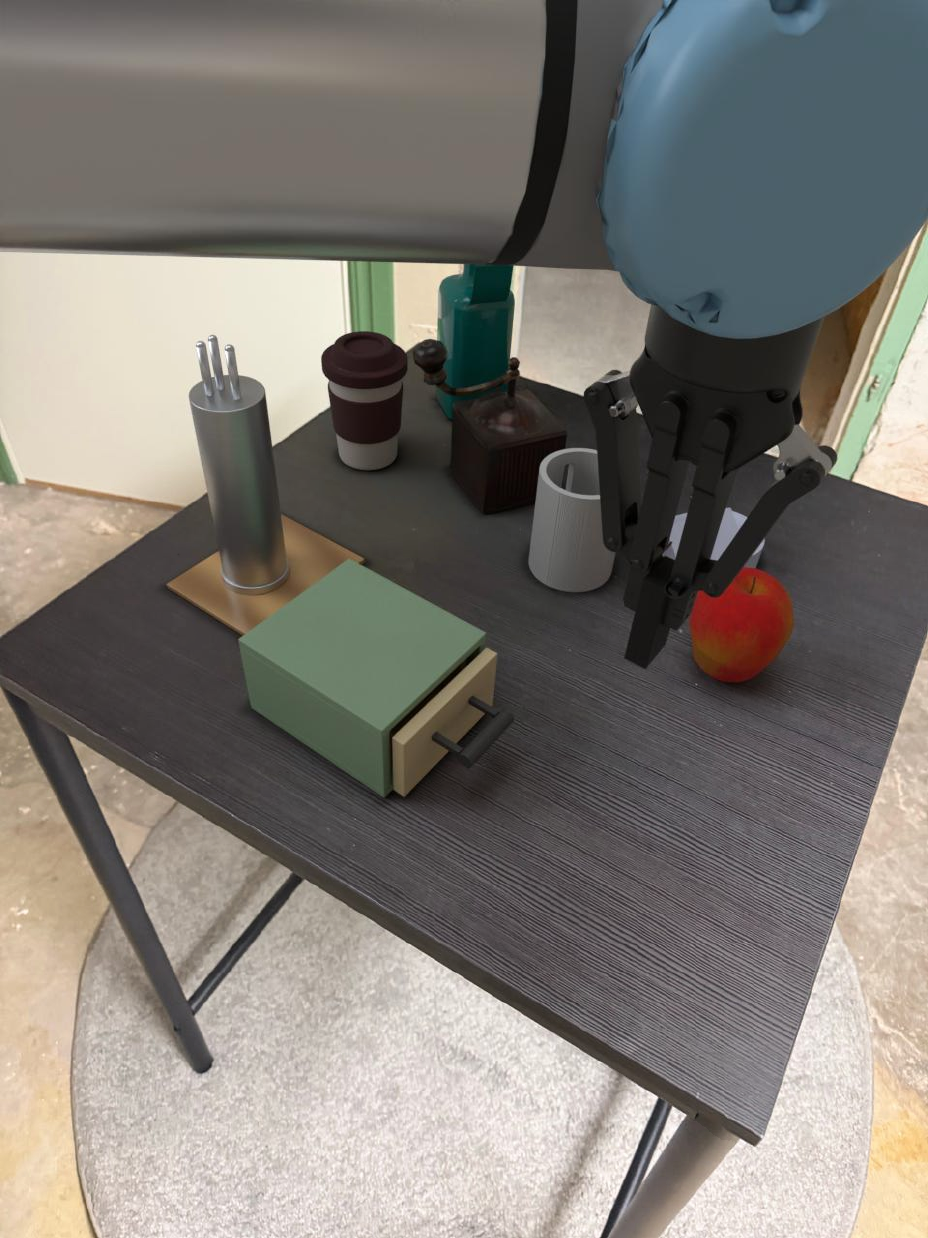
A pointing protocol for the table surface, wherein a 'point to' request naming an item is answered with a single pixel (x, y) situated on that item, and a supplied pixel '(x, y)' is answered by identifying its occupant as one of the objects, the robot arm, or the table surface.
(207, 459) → the cylinder
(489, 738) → the drawer
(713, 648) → the apple
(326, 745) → the cabinet
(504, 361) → the teal bottle
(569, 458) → the cup
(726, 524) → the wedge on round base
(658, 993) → the table surface
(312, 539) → the wooden board
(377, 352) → the coffee cup
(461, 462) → the manual coffee grinder
